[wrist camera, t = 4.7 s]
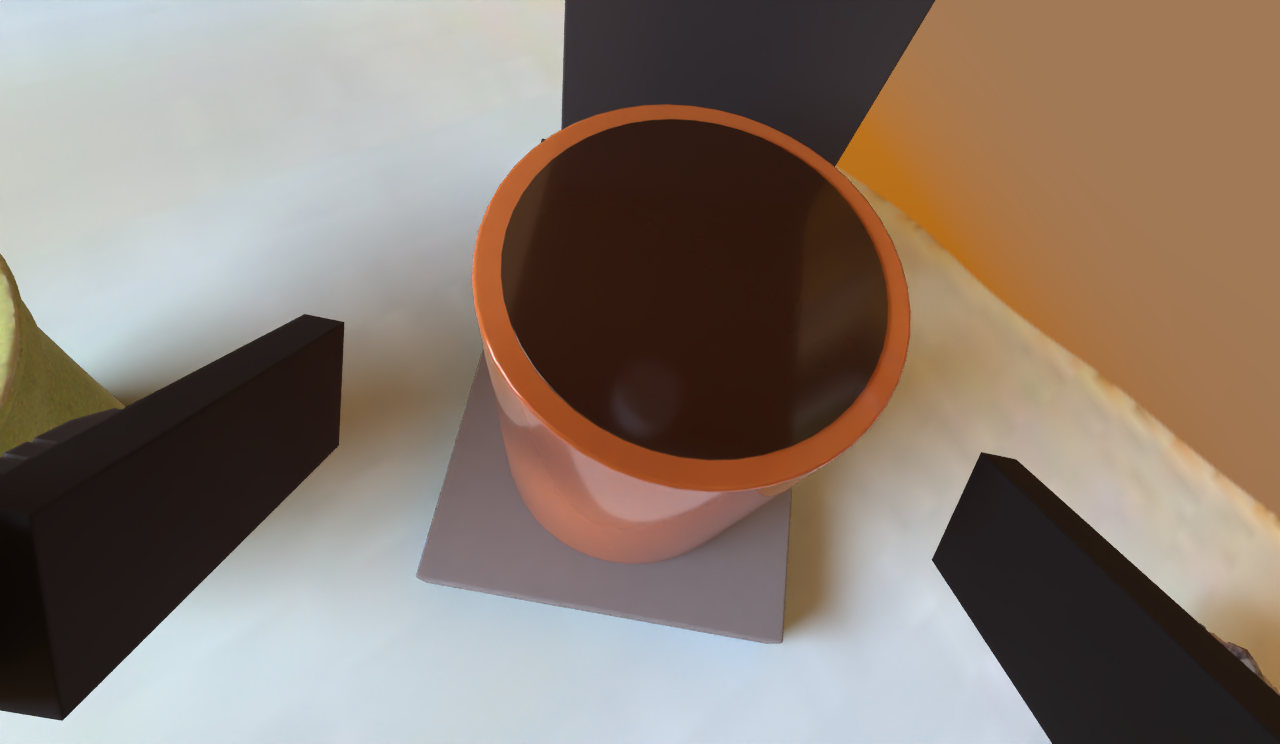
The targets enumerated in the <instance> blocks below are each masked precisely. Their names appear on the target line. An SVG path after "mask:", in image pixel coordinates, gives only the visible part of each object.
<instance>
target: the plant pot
mask: <svg viewBox="0 0 1280 744" xmlns="http://www.w3.org/2000/svg"><path fill="white" fill-rule="evenodd" d="M113 408H118V409H124V408H126V407H125V406H124V405H123V404H122V403H121V402H120V401H118V400H117V399H116V398H115V397H114V396H113V395H112V394H110V393H109V392H108V391H107V390H106V389H105V388H104V387H102V386H101V385H100V384H99V383H98V382H97V381H96V380H94V379H93V378H92V377H91V376H90V375H89V374H88V373H87V372H86V371H85V370H83V369H82V368H81V367H80V366H79V365H78V364H77V363H76V362H75V361H74V360H73V359H71V358H70V357H69V356H68V355H67V354H66V353H65V352H64V351H63V350H62V349H61V348H60V347H59V346H58V345H57V344H56V343H55V342H53V341H52V340H51V339H50V338H49V337H48V336H47V335H46V334H45V333H44V332H43V331H42V330H41V329H40V328H39V327H37V325H36V323H35V321H34V319H33V317H32V315H31V313H30V311H29V310H28V308H27V307H26V305H25V304H24V302H23V301H22V300H21V297H20V293H19V290H18V286H17V284H16V281H15V278H14V276H13V274H12V272H11V270H10V268H9V267H8V265H7V263H6V261H5V259H4V258H3V257H2V255H1V254H0V458H1V457H2V456H3V453H4V452H6V451H9V450H11V449H13V448H15V447H17V446H19V445H21V444H23V443H25V442H33V441H34V438H35V437H37V436H39V435H41V434H43V433H45V432H47V431H49V430H51V429H53V428H55V427H57V426H59V425H61V424H63V423H65V422H67V421H69V420H72V419H76V418H80V417H83V416H87V415H91V414H94V413H98V412H102V411H105V410H109V409H113Z"/></svg>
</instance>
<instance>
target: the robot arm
mask: <svg viewBox="0 0 1280 744" xmlns="http://www.w3.org/2000/svg"><path fill="white" fill-rule="evenodd" d="M343 342H344V322H341V321H336V320H331V319H326V318H321V317H316V316H311V315H307V314H304V315H302V316H300V317H298V318H296V319H295V320H293V321H291V322H289V323H287V324H285V325H283V326H281V327H279V328H277V329H275V330H273V331H272V332H270V333H268V334H266V335H264V336H262V337H260V338H258V339H256V340H254V341H252V342H250V343H248V344H247V345H245V346H243V347H241V348H239V349H237V350H235V351H233V352H231V353H229V354H227V355H225V356H224V357H222V358H220V359H218V360H216V361H214V362H212V363H210V364H208V365H206V366H204V367H202V368H200V369H199V370H197V371H195V372H193V373H191V374H189V375H187V376H185V377H183V378H181V379H179V380H177V381H175V382H174V383H172V384H170V385H168V386H166V387H164V388H162V389H160V390H158V391H156V392H154V393H152V394H151V395H149V396H147V397H145V398H143V399H141V400H139V401H137V402H135V403H133V404H131V405H129V406H127V407H126V408H124V409H118V408H113V409H109V410H105V411H102V412H98V413H94V414H91V415H87V416H83V417H80V418H76V419H72V420H69V421H67V422H65V423H63V424H61V425H59V426H57V427H55V428H53V429H51V430H49V431H47V432H45V433H43V434H41V435H39V436H37V437H35V438H34V441H33V442H25V443H23V444H21V445H19V446H17V447H15V448H13V449H11V450H9V451H6V452H4V453H3V456H2V457H1V458H0V710H1V711H7V712H13V713H19V714H25V715H32V716H38V717H44V718H50V719H56V720H62V721H63V720H64V719H65V718H66V717H67V716H68V715H69V714H70V713H71V712H72V711H73V710H74V709H75V708H76V707H77V706H78V705H79V704H80V703H81V702H82V701H83V700H84V699H85V698H86V697H87V696H88V695H89V694H90V693H91V692H92V691H93V690H94V689H95V688H96V687H97V686H98V685H99V684H100V683H101V682H102V681H103V680H104V679H105V678H106V677H107V676H108V675H109V674H110V673H111V672H112V671H113V670H114V669H115V668H116V667H117V666H118V665H119V664H120V663H121V662H122V661H123V660H124V659H125V658H126V657H127V656H128V655H129V654H130V653H131V652H132V651H133V650H134V649H135V648H136V647H137V646H138V645H139V644H140V643H141V642H142V641H143V640H144V639H145V638H146V637H147V636H148V635H149V634H150V633H151V632H152V631H153V630H154V629H155V628H156V627H157V626H158V625H159V624H160V623H161V622H162V621H163V620H164V619H165V618H166V617H167V616H168V615H169V614H170V613H171V612H172V611H173V610H174V609H175V608H176V607H177V606H178V605H179V604H180V603H181V602H182V601H183V600H184V599H185V598H186V597H187V596H188V595H189V594H190V593H191V592H192V591H193V590H194V589H195V588H196V587H197V586H198V585H199V584H200V583H201V582H202V581H203V580H204V579H205V578H206V577H207V576H208V575H209V574H210V573H211V572H212V571H213V570H214V569H215V568H216V567H217V566H218V565H219V564H220V563H221V562H222V561H223V560H224V559H225V558H226V557H227V556H228V555H229V554H230V553H231V552H232V551H233V550H234V549H235V548H236V547H237V546H238V545H239V544H240V543H241V542H242V541H243V540H244V539H245V538H246V537H247V536H248V535H249V534H250V533H251V532H252V531H253V530H254V529H255V528H256V527H257V526H258V525H259V524H260V523H261V522H262V521H263V520H264V519H265V518H266V517H267V516H268V515H269V514H270V513H271V512H272V511H273V510H274V509H275V508H276V507H277V506H278V505H279V504H280V503H281V502H282V501H283V500H284V499H285V498H286V497H287V496H288V495H290V494H291V493H292V492H293V491H294V490H295V489H296V488H297V487H298V486H299V485H300V484H301V483H302V482H303V481H304V480H305V479H306V478H307V477H308V476H309V475H310V474H311V473H312V472H313V471H314V470H315V469H316V468H317V467H318V466H319V465H320V464H321V463H322V462H323V461H324V460H325V459H326V458H327V457H328V456H329V455H330V454H331V453H332V452H333V451H334V450H335V449H336V448H337V447H338V446H339V429H340V407H341V385H342V364H343ZM932 561H933V562H934V564H935V565H936V567H937V569H938V570H939V572H940V573H941V575H942V576H943V578H944V579H945V581H946V582H947V584H948V585H949V587H950V588H951V590H952V591H953V593H954V594H955V596H956V597H957V599H958V601H959V602H960V604H961V605H962V607H963V608H964V610H965V611H966V613H967V614H968V616H969V617H970V619H971V620H972V622H973V623H974V625H975V626H976V628H977V630H978V631H979V633H980V634H981V636H982V637H983V639H984V640H985V642H986V643H987V645H988V646H989V648H990V649H991V651H992V652H993V654H994V655H995V657H996V658H997V660H998V662H999V663H1000V665H1001V666H1002V668H1003V669H1004V671H1005V672H1006V674H1007V675H1008V677H1009V678H1010V680H1011V681H1012V683H1013V684H1014V686H1015V687H1016V689H1017V690H1018V692H1019V694H1020V695H1021V697H1022V698H1023V700H1024V701H1025V703H1026V704H1027V706H1028V707H1029V709H1030V710H1031V712H1032V713H1033V715H1034V716H1035V718H1036V719H1037V721H1038V723H1039V724H1040V726H1041V727H1042V729H1043V730H1044V732H1045V733H1046V735H1047V736H1048V738H1049V739H1050V741H1051V742H1052V744H1280V695H1278V694H1277V693H1276V692H1275V691H1274V690H1273V689H1272V688H1271V687H1270V686H1268V685H1267V684H1266V683H1265V682H1264V681H1263V680H1262V679H1261V678H1259V677H1258V676H1257V675H1256V674H1255V673H1254V672H1253V671H1252V670H1251V669H1249V668H1248V667H1247V666H1246V665H1245V664H1244V663H1243V662H1242V661H1241V660H1239V659H1238V658H1237V657H1236V656H1235V655H1234V654H1233V653H1232V652H1230V651H1229V650H1228V649H1227V648H1226V647H1225V646H1224V645H1223V644H1222V643H1220V642H1219V641H1218V640H1217V639H1216V638H1215V637H1214V636H1213V635H1212V634H1210V633H1209V632H1208V631H1207V630H1206V629H1205V628H1204V627H1203V626H1201V625H1200V624H1199V623H1198V622H1197V621H1196V620H1195V619H1194V618H1193V617H1191V616H1190V615H1189V614H1188V613H1187V612H1186V611H1185V610H1184V609H1182V608H1181V607H1180V606H1179V605H1178V604H1177V603H1176V602H1175V601H1174V600H1172V599H1171V598H1170V597H1169V596H1168V595H1167V594H1166V593H1165V592H1164V591H1162V590H1161V589H1160V588H1159V587H1158V586H1157V585H1156V584H1155V583H1153V582H1152V581H1151V580H1150V579H1149V578H1148V577H1147V576H1146V575H1145V574H1143V573H1142V572H1141V571H1140V570H1139V569H1138V568H1137V567H1136V566H1134V565H1133V564H1132V563H1131V562H1130V561H1129V560H1128V559H1127V558H1126V557H1124V556H1123V555H1122V554H1121V553H1120V552H1119V551H1118V550H1117V549H1116V548H1114V547H1113V546H1112V545H1111V544H1110V543H1109V542H1108V541H1107V540H1105V539H1104V538H1103V537H1102V536H1101V535H1100V534H1099V533H1098V532H1097V531H1095V530H1094V529H1093V528H1092V527H1091V526H1090V525H1089V524H1088V523H1086V522H1085V521H1084V520H1083V519H1082V518H1081V517H1080V516H1079V515H1078V514H1076V513H1075V512H1074V511H1073V510H1072V509H1071V508H1070V507H1069V506H1068V505H1066V504H1065V503H1064V502H1063V501H1062V500H1061V499H1060V498H1059V497H1057V496H1056V495H1055V494H1054V493H1053V492H1052V491H1051V490H1050V489H1049V488H1047V487H1046V486H1045V485H1044V484H1043V483H1042V482H1041V481H1040V480H1038V479H1037V478H1036V477H1035V476H1034V475H1033V474H1032V473H1031V472H1030V471H1028V470H1027V469H1026V468H1025V467H1024V466H1023V465H1022V464H1021V463H1020V462H1018V461H1017V460H1016V459H1011V458H1007V457H1002V456H997V455H992V454H987V453H982V452H981V454H980V456H979V458H978V460H977V463H976V465H975V467H974V469H973V471H972V474H971V476H970V478H969V480H968V482H967V484H966V487H965V489H964V491H963V493H962V495H961V498H960V500H959V502H958V504H957V506H956V508H955V511H954V513H953V515H952V517H951V519H950V522H949V524H948V526H947V528H946V530H945V532H944V535H943V537H942V539H941V541H940V543H939V546H938V548H937V550H936V552H935V554H934V556H933V559H932Z"/></svg>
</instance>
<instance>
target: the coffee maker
mask: <svg viewBox="0 0 1280 744" xmlns="http://www.w3.org/2000/svg"><path fill="white" fill-rule="evenodd" d="M934 1H935V0H565V23H564V58H563V93H562V129H564V128H566V127H568V126H570V125H572V124H574V123H576V122H579V121H581V120H584V119H587V118H589V117H592V116H594V115H597V114H601V113H605V112H609V111H613V110H616V109H621V108H628V107H634V106H641V105H659V104H675V105H692V106H699V107H705V108H712V109H718V110H722V111H726V112H729V113H733V114H737V115H741V116H744V117H747V118H750V119H752V120H755V121H758V122H761V123H763V124H766V125H768V126H770V127H772V128H774V129H777V130H779V131H781V132H783V133H785V134H787V135H789V136H791V137H792V138H794V139H796V140H797V141H799V142H801V143H802V144H804V145H806V146H807V147H809V148H811V149H812V150H813V151H815V152H816V153H817V154H819V155H820V156H821V157H823V158H824V159H825V160H827V161H828V162H829V163H831V164H832V165H833V166H834V167H835V166H836V164H837V162H838V161H839V159H840V157H841V156H842V154H843V153H844V151H845V149H846V147H847V146H848V144H849V142H850V141H851V139H852V137H853V136H854V134H855V133H856V131H857V129H858V128H859V126H860V124H861V122H862V121H863V119H864V118H865V116H866V114H867V113H868V111H869V109H870V108H871V106H872V104H873V103H874V101H875V99H876V98H877V96H878V94H879V92H880V91H881V89H882V88H883V86H884V84H885V83H886V81H887V80H888V78H889V76H890V75H891V73H892V71H893V70H894V68H895V66H896V65H897V63H898V61H899V59H900V58H901V56H902V54H903V53H904V51H905V50H906V48H907V46H908V45H909V43H910V41H911V40H912V38H913V36H914V35H915V33H916V31H917V30H918V28H919V26H920V25H921V23H922V21H923V20H924V18H925V16H926V15H927V13H928V12H929V10H930V8H931V6H932V5H933V3H934ZM562 129H561V130H562ZM545 140H546V139H542V141H541V143H542V142H543V141H545ZM791 497H792V487H790V488H789V489H787V490H786V491H784V492H783V493H781V494H780V495H778V496H777V497H775V498H773V499H772V500H770V501H769V502H767V503H766V504H764V505H763V506H761V507H759V508H758V509H756V510H755V511H753V512H752V513H750V514H749V515H747V516H746V517H744V518H742V519H741V520H739V521H738V522H736V523H735V524H733V525H732V526H730V527H728V528H727V529H725V530H724V531H722V532H721V533H719V534H718V535H716V536H714V537H713V538H711V539H710V540H708V541H707V542H705V543H704V544H702V545H701V546H699V547H697V548H695V549H693V550H691V551H689V552H687V553H685V554H683V555H680V556H677V557H674V558H672V559H669V560H665V561H659V562H654V563H646V564H625V563H614V562H610V561H605V560H601V559H597V558H594V557H591V556H589V555H586V554H583V553H581V552H579V551H577V550H575V549H573V548H571V547H570V546H568V545H566V544H564V543H563V542H562V541H560V540H559V539H557V538H556V537H555V536H553V535H552V534H551V533H549V532H548V531H547V530H546V529H545V528H544V527H543V526H542V525H541V524H540V523H539V522H538V521H537V520H536V518H535V517H534V516H533V515H532V513H531V512H530V511H529V510H528V508H527V507H526V505H525V503H524V502H523V500H522V498H521V497H520V495H519V493H518V491H517V489H516V486H515V484H514V481H513V479H512V476H511V472H510V469H509V465H508V461H507V456H506V452H505V447H504V442H503V438H502V433H501V428H500V424H499V419H498V414H497V410H496V405H495V400H494V396H493V391H492V386H491V382H490V377H489V372H488V368H487V363H486V358H485V354H484V349H483V350H482V353H481V357H480V360H479V364H478V367H477V370H476V374H475V377H474V381H473V384H472V387H471V391H470V394H469V397H468V401H467V404H466V408H465V411H464V414H463V418H462V421H461V424H460V428H459V431H458V435H457V438H456V441H455V445H454V448H453V452H452V455H451V458H450V462H449V465H448V468H447V472H446V475H445V479H444V482H443V485H442V489H441V492H440V495H439V499H438V502H437V506H436V509H435V512H434V516H433V519H432V523H431V526H430V529H429V533H428V536H427V539H426V543H425V546H424V550H423V553H422V556H421V560H420V563H419V566H418V570H417V573H416V577H417V578H419V579H421V580H423V581H425V582H427V583H432V584H438V585H443V586H449V587H455V588H460V589H466V590H471V591H477V592H482V593H488V594H494V595H499V596H505V597H510V598H516V599H521V600H527V601H532V602H538V603H544V604H549V605H555V606H560V607H566V608H571V609H577V610H582V611H588V612H594V613H599V614H605V615H610V616H616V617H621V618H627V619H633V620H638V621H644V622H649V623H655V624H660V625H666V626H671V627H677V628H683V629H688V630H694V631H699V632H705V633H710V634H716V635H722V636H727V637H733V638H738V639H744V640H749V641H755V642H760V643H782V642H783V631H784V614H785V597H786V580H787V564H788V547H789V530H790V514H791Z"/></svg>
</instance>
